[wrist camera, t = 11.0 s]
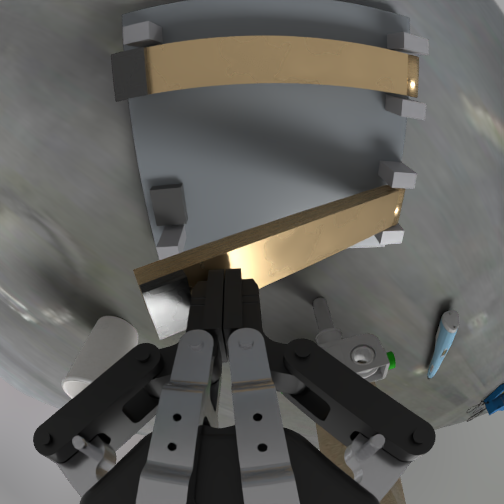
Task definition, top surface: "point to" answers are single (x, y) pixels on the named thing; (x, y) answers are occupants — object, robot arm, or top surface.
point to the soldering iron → (493, 402)
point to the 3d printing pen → (443, 339)
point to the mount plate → (265, 124)
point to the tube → (335, 452)
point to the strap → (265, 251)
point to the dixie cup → (100, 352)
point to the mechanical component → (352, 347)
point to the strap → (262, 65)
